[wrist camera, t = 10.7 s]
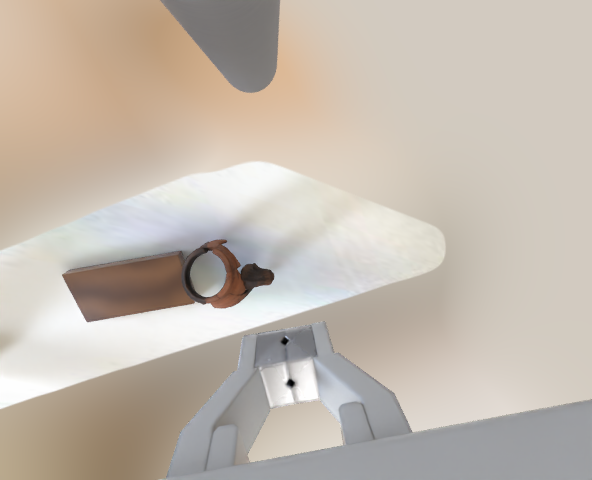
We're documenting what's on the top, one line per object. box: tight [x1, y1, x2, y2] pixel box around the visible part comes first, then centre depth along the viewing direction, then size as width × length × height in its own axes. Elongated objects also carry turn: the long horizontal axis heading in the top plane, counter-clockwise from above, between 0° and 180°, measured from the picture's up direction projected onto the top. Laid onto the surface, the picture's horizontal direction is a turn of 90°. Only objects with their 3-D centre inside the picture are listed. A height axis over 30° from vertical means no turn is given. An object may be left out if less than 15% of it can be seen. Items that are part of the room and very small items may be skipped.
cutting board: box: [62, 251, 195, 322], centre depth 40 cm, size 8×16×2 cm, turn 99°
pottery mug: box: [181, 240, 274, 308], centre depth 38 cm, size 12×10×8 cm
